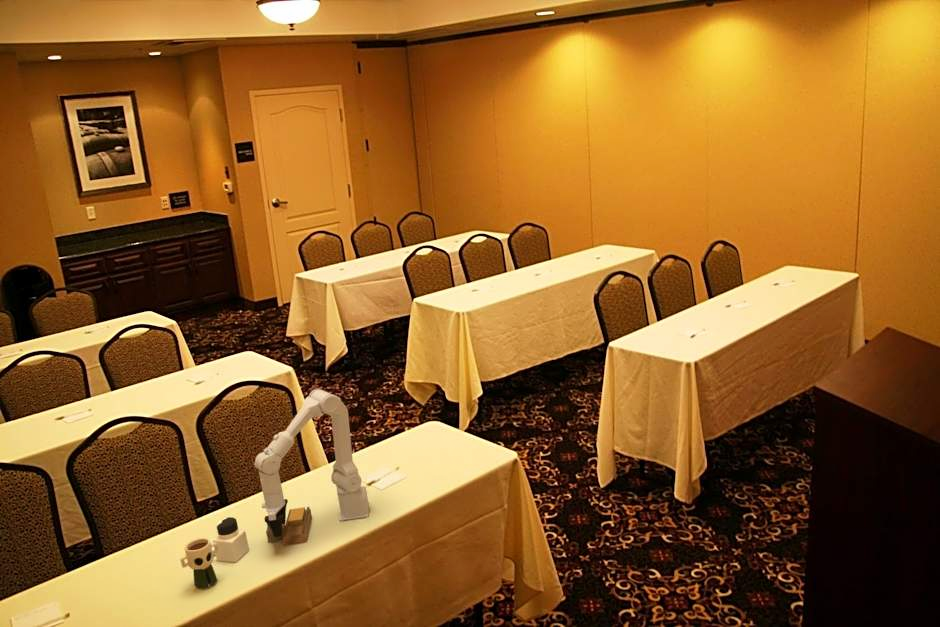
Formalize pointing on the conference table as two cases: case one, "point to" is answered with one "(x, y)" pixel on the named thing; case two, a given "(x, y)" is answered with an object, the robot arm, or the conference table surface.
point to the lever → (270, 534)
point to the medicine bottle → (230, 541)
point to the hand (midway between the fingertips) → (280, 529)
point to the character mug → (201, 561)
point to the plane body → (294, 531)
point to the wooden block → (297, 517)
